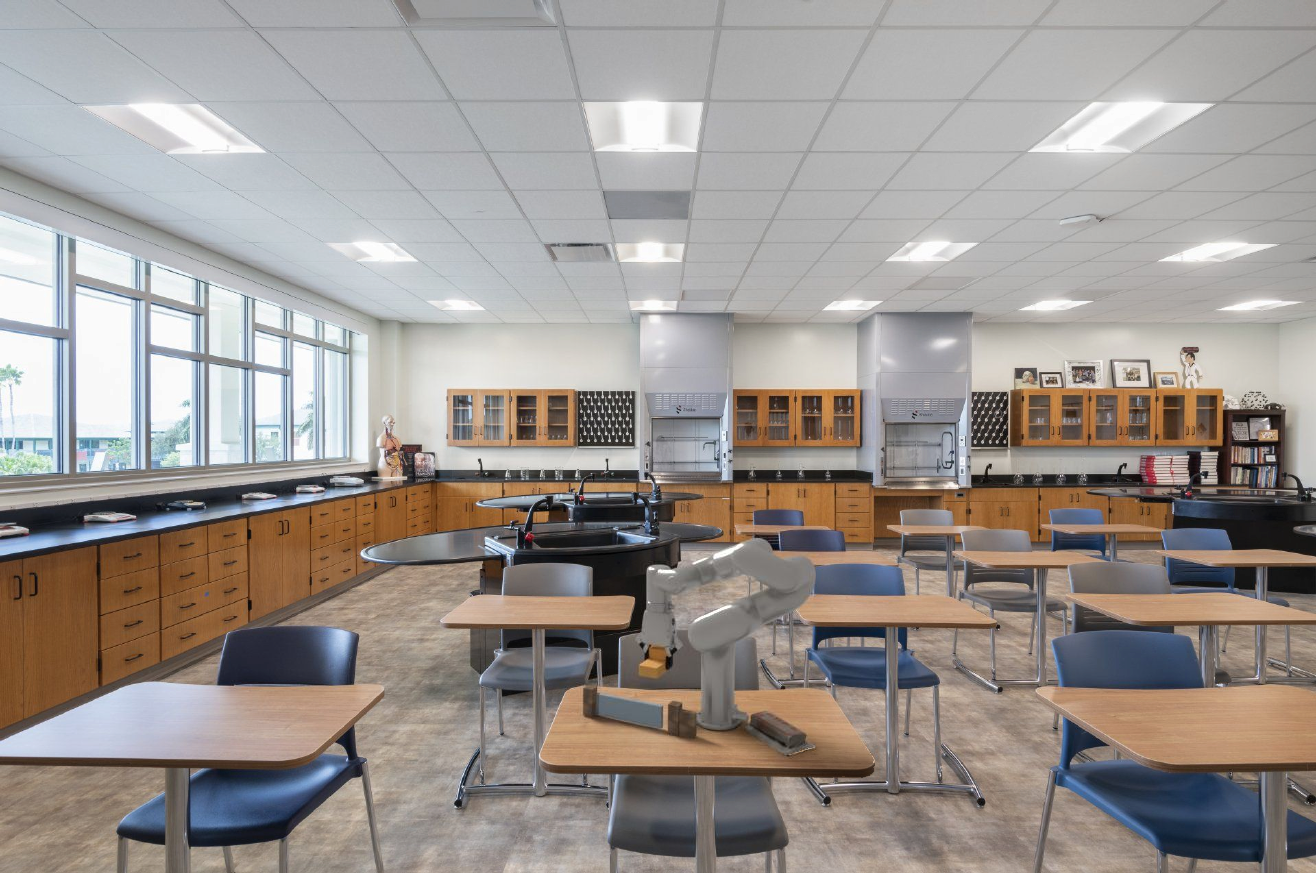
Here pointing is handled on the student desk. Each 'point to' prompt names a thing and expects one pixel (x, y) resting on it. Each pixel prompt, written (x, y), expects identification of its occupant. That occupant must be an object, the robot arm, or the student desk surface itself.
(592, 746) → the student desk surface
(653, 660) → the orange stepped block
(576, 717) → the student desk surface
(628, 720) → the gate door
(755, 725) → the packaged product
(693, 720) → the wooden posts
